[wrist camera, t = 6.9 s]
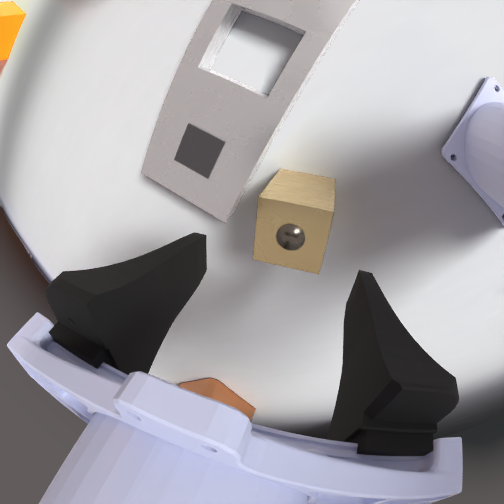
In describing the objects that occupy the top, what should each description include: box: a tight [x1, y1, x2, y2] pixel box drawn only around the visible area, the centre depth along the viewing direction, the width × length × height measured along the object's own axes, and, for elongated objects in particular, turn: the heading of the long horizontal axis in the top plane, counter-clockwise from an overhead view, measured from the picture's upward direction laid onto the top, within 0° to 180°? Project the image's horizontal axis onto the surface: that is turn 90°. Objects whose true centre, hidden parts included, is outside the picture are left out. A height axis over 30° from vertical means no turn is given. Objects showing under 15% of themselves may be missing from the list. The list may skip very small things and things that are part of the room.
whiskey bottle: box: [179, 378, 255, 422], centre depth 28 cm, size 10×10×32 cm
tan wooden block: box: [253, 169, 335, 274], centre depth 18 cm, size 4×4×6 cm
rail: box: [141, 0, 359, 223], centre depth 14 cm, size 8×24×2 cm, turn 153°
